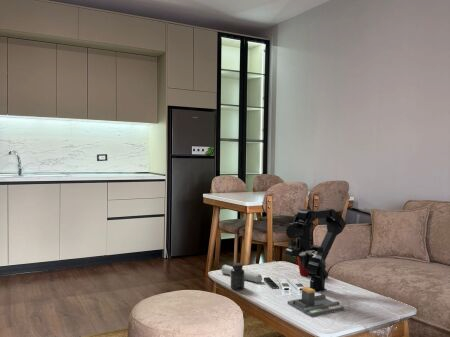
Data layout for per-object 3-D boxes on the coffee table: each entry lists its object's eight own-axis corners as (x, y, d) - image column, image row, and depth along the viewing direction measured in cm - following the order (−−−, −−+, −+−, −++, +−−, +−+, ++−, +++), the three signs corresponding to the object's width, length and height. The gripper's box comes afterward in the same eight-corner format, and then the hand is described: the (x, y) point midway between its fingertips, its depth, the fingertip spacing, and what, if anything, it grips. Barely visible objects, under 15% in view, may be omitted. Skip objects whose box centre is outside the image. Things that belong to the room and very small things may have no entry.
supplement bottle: (229, 286, 205) (230, 262, 205) (243, 285, 206) (243, 262, 206) (231, 290, 199) (231, 266, 198) (245, 290, 199) (245, 265, 199)
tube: (265, 274, 213) (228, 265, 230) (259, 273, 210) (222, 263, 226) (262, 284, 212) (226, 274, 229) (257, 283, 208) (220, 273, 225)
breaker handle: (307, 302, 180) (307, 286, 180) (314, 306, 175) (314, 289, 175) (301, 303, 178) (301, 287, 178) (308, 307, 174) (309, 290, 174)
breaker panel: (319, 298, 190) (319, 291, 190) (344, 309, 176) (344, 302, 176) (287, 303, 182) (287, 297, 182) (310, 316, 168) (310, 309, 167)
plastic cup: (311, 279, 219) (312, 256, 218) (292, 276, 224) (293, 254, 224) (318, 274, 228) (319, 252, 228) (300, 271, 234) (300, 250, 233)
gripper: (309, 231, 206) (309, 262, 207) (278, 234, 198) (278, 266, 198) (324, 235, 196) (323, 268, 197) (292, 238, 188) (292, 272, 188)
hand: (304, 268), depth 195 cm, fingers closed
